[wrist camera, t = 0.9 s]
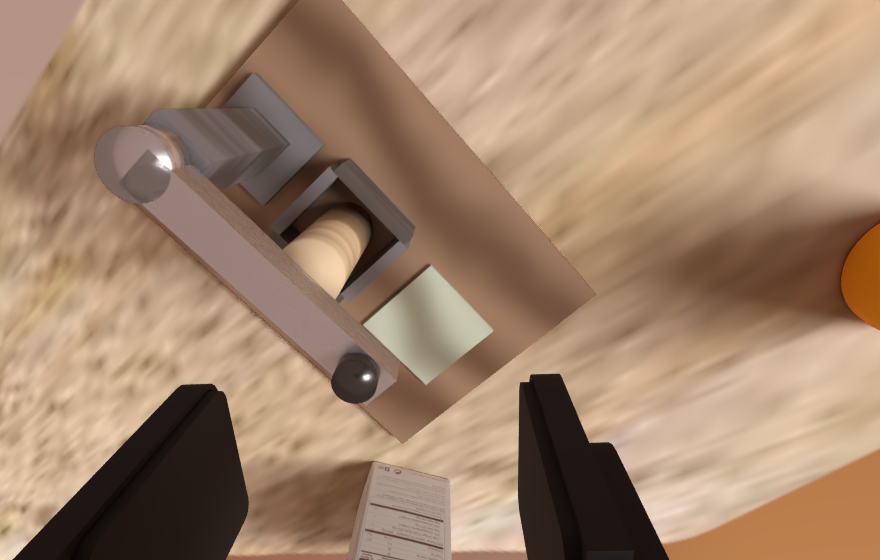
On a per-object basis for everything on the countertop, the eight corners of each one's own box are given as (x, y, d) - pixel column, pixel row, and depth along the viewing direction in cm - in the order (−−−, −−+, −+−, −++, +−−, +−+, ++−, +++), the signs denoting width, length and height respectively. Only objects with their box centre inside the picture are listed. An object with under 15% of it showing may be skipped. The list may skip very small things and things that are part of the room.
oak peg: (347, 191, 34) (303, 228, 24) (383, 228, 35) (356, 280, 25) (312, 225, 35) (255, 275, 25) (348, 261, 36) (308, 324, 25)
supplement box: (430, 538, 46) (423, 688, 34) (353, 519, 46) (319, 666, 34) (453, 477, 44) (455, 616, 32) (372, 457, 43) (344, 591, 31)
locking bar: (108, 158, 21) (60, 166, 18) (150, 108, 20) (106, 109, 18) (364, 390, 25) (354, 424, 22) (407, 355, 24) (402, 386, 21)
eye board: (324, -20, 31) (238, -108, 18) (591, 289, 38) (665, 382, 25) (137, 194, 36) (-36, 243, 23) (403, 434, 42) (384, 576, 30)
